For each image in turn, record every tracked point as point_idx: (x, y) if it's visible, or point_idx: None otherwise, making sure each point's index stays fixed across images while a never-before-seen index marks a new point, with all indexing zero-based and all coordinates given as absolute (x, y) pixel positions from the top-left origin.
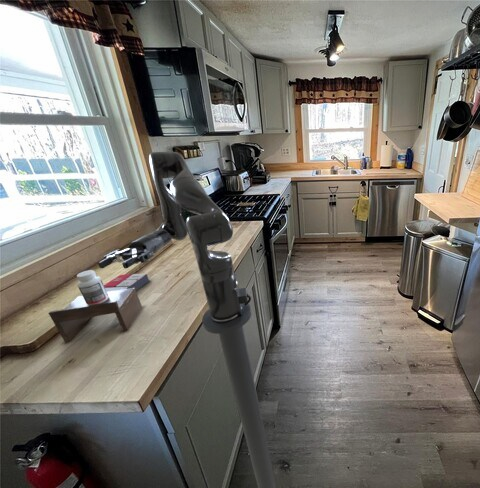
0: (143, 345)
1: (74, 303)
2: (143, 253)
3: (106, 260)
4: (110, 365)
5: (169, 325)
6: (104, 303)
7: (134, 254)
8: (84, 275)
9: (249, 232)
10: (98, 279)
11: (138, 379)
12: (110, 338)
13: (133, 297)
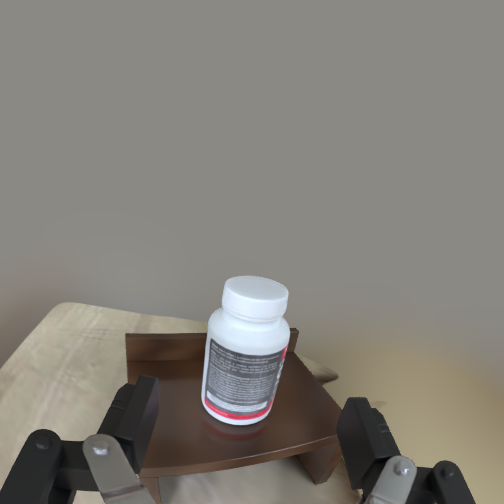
0: (73, 365)
1: (315, 397)
2: (34, 491)
3: (361, 438)
4: (118, 343)
5: (28, 401)
6: (157, 334)
7: (125, 492)
8: (241, 278)
9: None
10: (211, 322)
11: (66, 316)
12: None
13: None
